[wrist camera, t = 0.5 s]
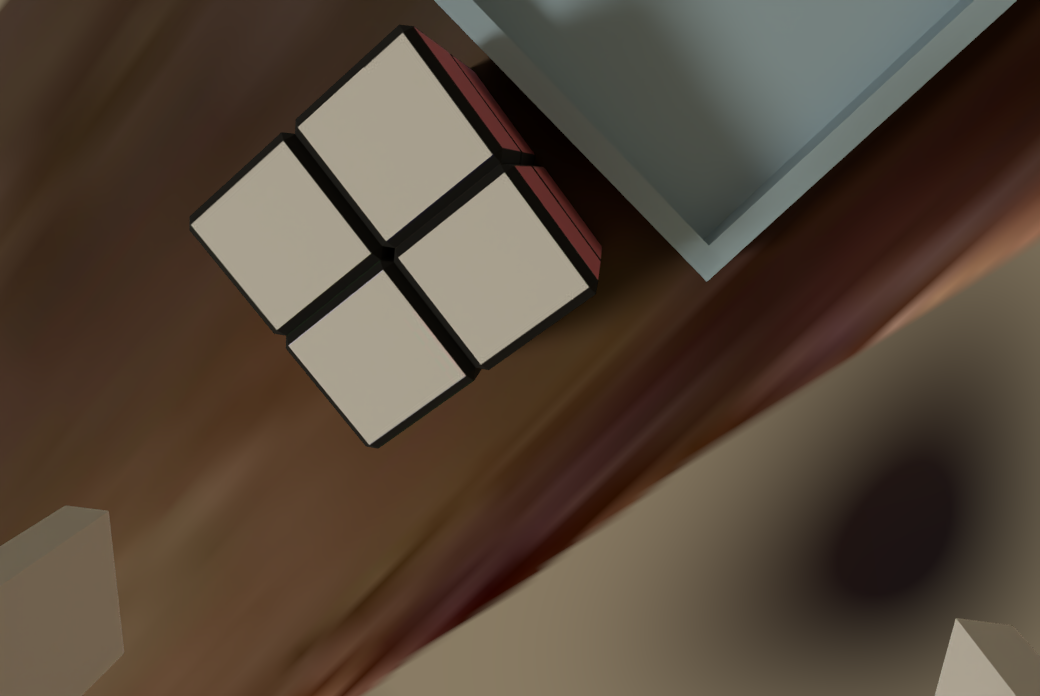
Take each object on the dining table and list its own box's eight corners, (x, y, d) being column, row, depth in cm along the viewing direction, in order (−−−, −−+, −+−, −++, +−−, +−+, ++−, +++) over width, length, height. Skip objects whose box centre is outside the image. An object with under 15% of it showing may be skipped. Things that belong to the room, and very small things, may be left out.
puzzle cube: (470, 65, 29) (403, 13, 20) (607, 251, 31) (605, 289, 21) (306, 207, 32) (176, 223, 22) (438, 374, 33) (368, 458, 24)
